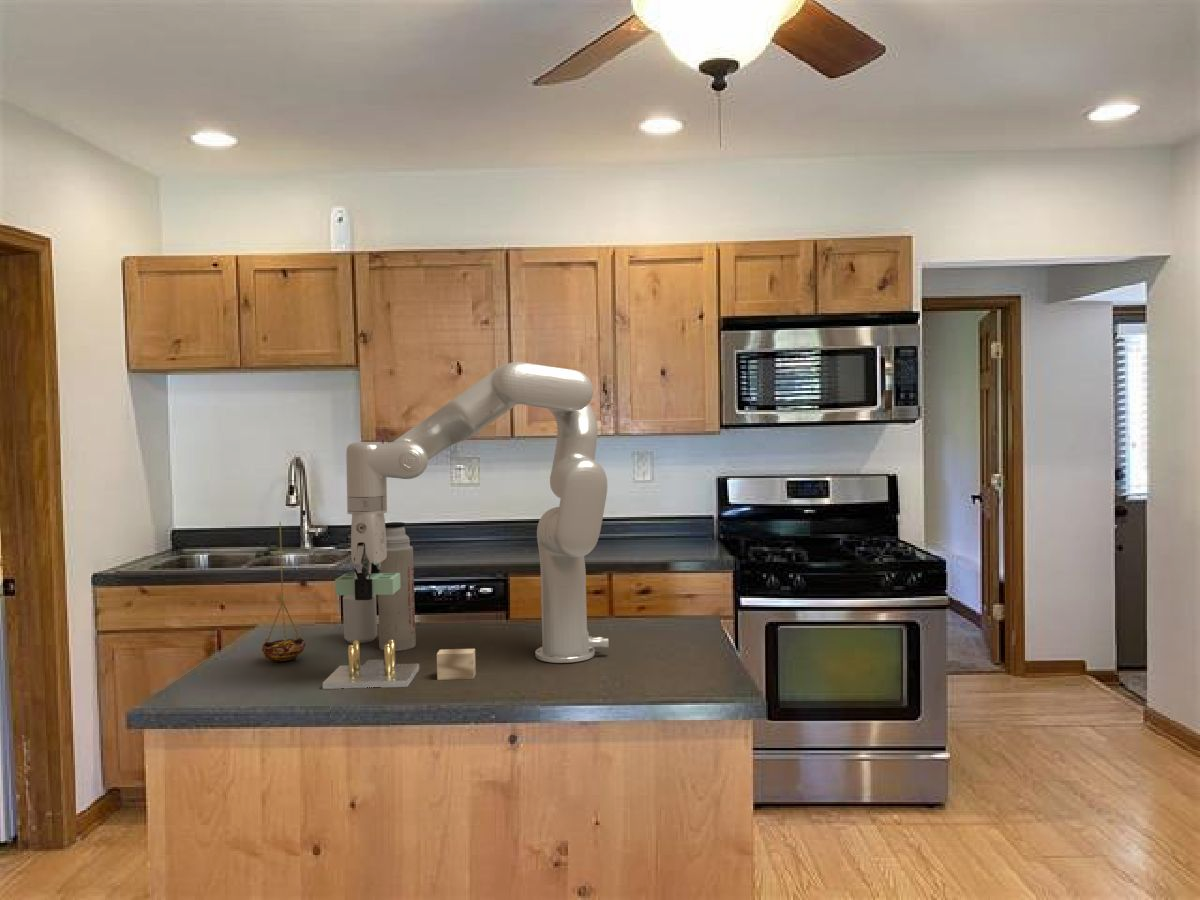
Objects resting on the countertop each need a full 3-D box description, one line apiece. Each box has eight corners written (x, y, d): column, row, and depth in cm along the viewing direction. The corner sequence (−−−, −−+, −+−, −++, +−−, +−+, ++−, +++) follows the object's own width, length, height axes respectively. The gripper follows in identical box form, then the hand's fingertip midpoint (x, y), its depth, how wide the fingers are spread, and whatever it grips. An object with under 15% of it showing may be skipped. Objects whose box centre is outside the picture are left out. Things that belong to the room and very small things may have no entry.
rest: (475, 673, 177) (475, 648, 177) (473, 678, 174) (472, 653, 174) (440, 674, 177) (439, 649, 177) (437, 679, 174) (436, 654, 173)
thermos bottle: (421, 642, 204) (417, 520, 203) (406, 651, 196) (403, 524, 195) (388, 641, 205) (385, 520, 205) (373, 650, 198) (369, 524, 197)
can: (384, 638, 209) (382, 587, 208) (359, 645, 202) (358, 593, 202) (361, 635, 213) (360, 585, 212) (337, 642, 206) (335, 590, 206)
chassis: (419, 669, 181) (418, 633, 181) (407, 686, 169) (406, 648, 169) (340, 671, 181) (339, 635, 181) (322, 689, 169) (321, 650, 169)
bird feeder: (313, 660, 191) (309, 520, 190) (274, 669, 184) (269, 524, 183) (293, 653, 197) (289, 517, 196) (254, 662, 190) (250, 521, 189)
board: (400, 587, 178) (400, 572, 178) (392, 594, 171) (392, 578, 171) (345, 588, 178) (344, 573, 178) (335, 595, 171) (335, 579, 171)
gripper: (375, 509, 166) (377, 604, 166) (395, 501, 183) (397, 587, 183) (335, 509, 165) (337, 605, 166) (359, 502, 183) (360, 588, 183)
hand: (368, 595), depth 175 cm, fingers closed on board, 7 cm apart
